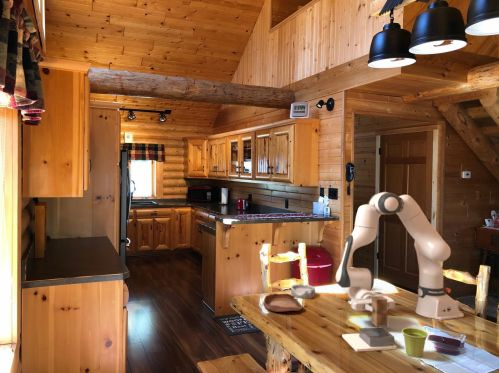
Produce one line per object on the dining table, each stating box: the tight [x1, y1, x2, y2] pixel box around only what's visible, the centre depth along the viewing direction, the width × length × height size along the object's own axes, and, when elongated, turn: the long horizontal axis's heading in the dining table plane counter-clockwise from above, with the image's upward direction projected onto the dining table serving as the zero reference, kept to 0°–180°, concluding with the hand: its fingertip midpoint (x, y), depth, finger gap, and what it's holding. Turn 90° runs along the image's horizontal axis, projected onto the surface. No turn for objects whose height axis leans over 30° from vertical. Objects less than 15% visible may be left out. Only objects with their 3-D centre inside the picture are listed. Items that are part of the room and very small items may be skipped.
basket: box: [263, 293, 304, 313], centre depth 213 cm, size 22×20×5 cm
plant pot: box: [401, 327, 429, 358], centre depth 158 cm, size 9×9×9 cm
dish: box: [290, 283, 316, 299], centre depth 236 cm, size 14×14×5 cm
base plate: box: [341, 333, 397, 353], centre depth 169 cm, size 17×15×1 cm
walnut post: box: [370, 296, 388, 328], centre depth 184 cm, size 5×5×12 cm
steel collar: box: [358, 326, 395, 347], centre depth 169 cm, size 10×10×4 cm
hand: (380, 309), depth 183 cm, fingers closed on walnut post, 5 cm apart
